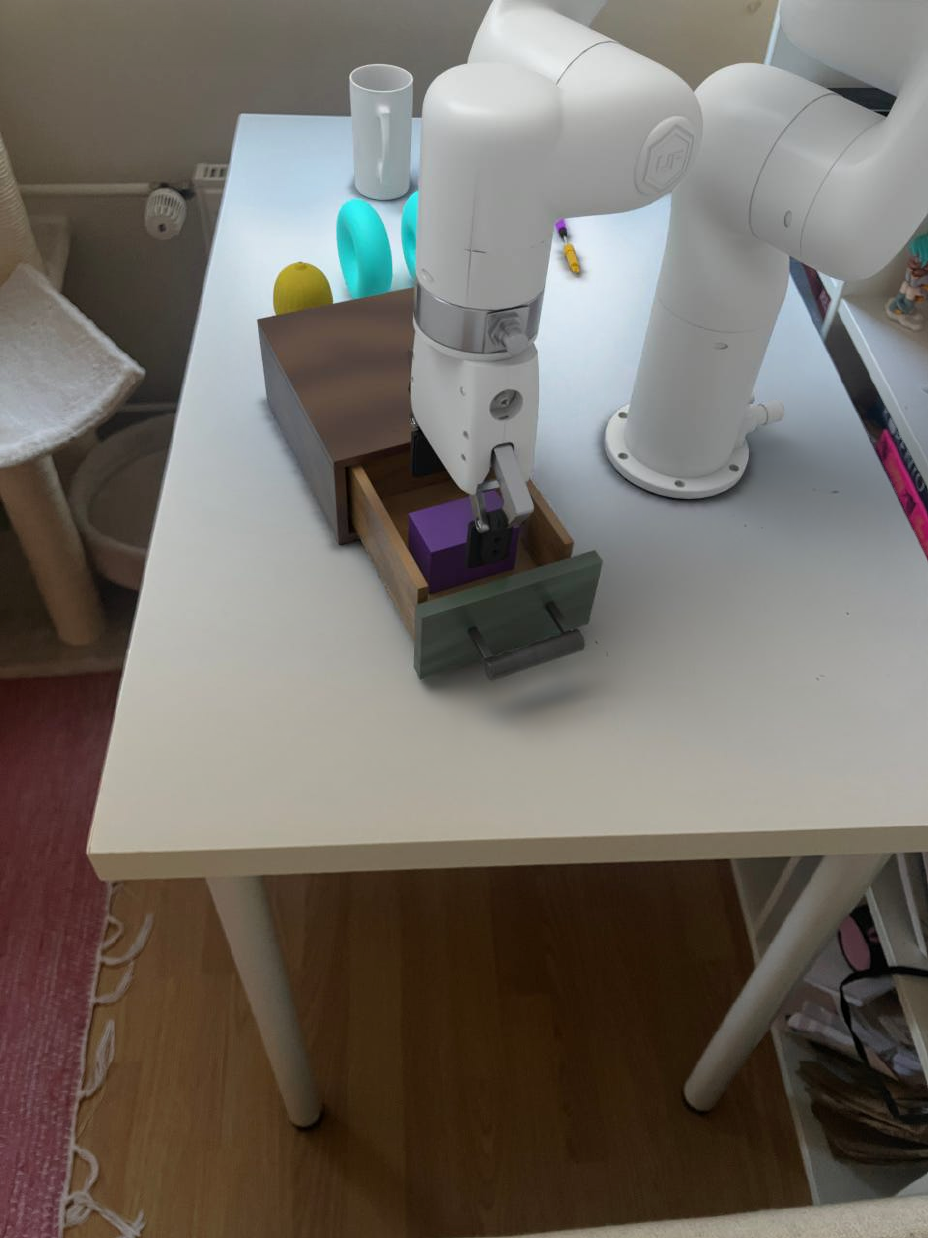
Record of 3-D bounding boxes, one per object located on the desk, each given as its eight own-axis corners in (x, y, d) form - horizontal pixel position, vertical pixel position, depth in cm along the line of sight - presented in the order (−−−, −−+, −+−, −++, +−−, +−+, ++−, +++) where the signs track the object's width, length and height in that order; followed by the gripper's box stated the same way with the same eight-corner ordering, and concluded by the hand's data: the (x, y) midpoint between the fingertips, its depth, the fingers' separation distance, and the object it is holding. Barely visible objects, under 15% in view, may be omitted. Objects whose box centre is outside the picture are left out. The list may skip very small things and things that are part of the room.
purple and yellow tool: (543, 196, 115) (569, 275, 106) (546, 186, 115) (573, 265, 105) (564, 201, 116) (592, 280, 106) (568, 191, 115) (596, 270, 106)
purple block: (490, 531, 78) (495, 488, 75) (514, 569, 76) (520, 526, 73) (407, 556, 76) (408, 513, 73) (429, 595, 74) (431, 552, 70)
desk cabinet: (505, 498, 84) (515, 415, 77) (338, 545, 80) (333, 461, 73) (419, 367, 95) (421, 284, 88) (267, 403, 90) (256, 318, 83)
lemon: (325, 359, 95) (320, 284, 88) (269, 349, 95) (260, 274, 89) (341, 326, 98) (338, 251, 92) (287, 317, 99) (280, 241, 92)
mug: (351, 172, 117) (347, 63, 108) (408, 171, 118) (409, 63, 109) (356, 217, 111) (352, 106, 102) (416, 216, 112) (418, 105, 102)
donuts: (460, 312, 101) (465, 218, 93) (365, 329, 98) (362, 234, 90) (425, 259, 106) (428, 167, 99) (335, 275, 104) (330, 181, 96)
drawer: (617, 666, 72) (634, 605, 67) (443, 727, 68) (448, 666, 63) (488, 473, 84) (494, 407, 79) (334, 514, 80) (330, 448, 75)
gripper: (605, 375, 55) (560, 585, 68) (474, 220, 65) (456, 429, 78) (482, 403, 53) (459, 615, 66) (364, 238, 62) (365, 451, 75)
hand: (457, 514), depth 72 cm, fingers open, 9 cm apart
